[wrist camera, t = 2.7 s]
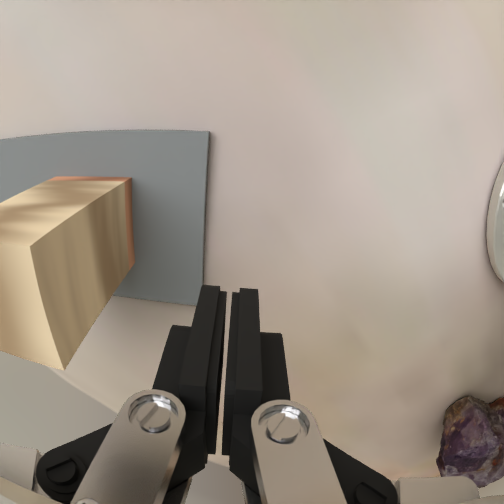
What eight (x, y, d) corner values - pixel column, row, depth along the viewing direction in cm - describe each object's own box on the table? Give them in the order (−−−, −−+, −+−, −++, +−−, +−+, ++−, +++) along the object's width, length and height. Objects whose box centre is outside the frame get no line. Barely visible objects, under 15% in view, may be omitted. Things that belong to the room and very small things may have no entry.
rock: (470, 369, 24) (404, 433, 28) (504, 430, 16) (418, 496, 20) (518, 398, 25) (461, 451, 28) (546, 446, 17) (477, 502, 20)
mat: (209, 131, 15) (208, 132, 15) (202, 302, 20) (201, 306, 19) (-39, 146, 15) (-43, 147, 15) (-20, 269, 19) (-23, 271, 19)
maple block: (131, 177, 16) (29, 246, 8) (135, 262, 18) (64, 370, 10) (55, 176, 16) (-57, 235, 8) (64, 254, 18) (-22, 342, 10)
